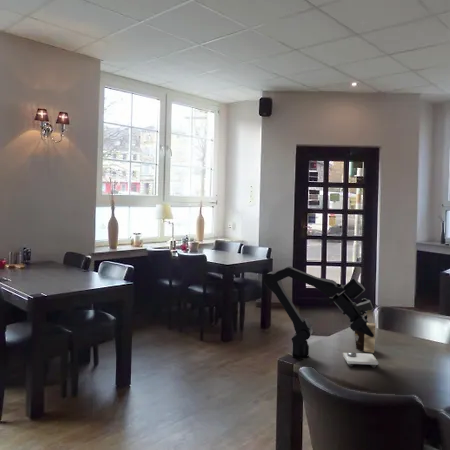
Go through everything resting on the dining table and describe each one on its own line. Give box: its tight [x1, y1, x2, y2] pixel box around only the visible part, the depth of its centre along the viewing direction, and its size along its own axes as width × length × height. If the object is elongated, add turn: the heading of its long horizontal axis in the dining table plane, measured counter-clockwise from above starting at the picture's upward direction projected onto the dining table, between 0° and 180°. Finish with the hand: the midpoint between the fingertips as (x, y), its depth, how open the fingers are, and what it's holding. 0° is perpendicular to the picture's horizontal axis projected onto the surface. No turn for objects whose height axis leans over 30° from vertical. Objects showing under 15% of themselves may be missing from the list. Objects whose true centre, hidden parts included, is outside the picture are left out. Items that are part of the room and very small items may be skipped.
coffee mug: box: [354, 330, 365, 352], centre depth 206 cm, size 12×9×10 cm
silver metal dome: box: [346, 351, 356, 357], centre depth 188 cm, size 4×4×1 cm
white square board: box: [342, 352, 379, 369], centre depth 186 cm, size 12×10×3 cm
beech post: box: [363, 322, 376, 354], centre depth 185 cm, size 4×4×11 cm
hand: (373, 335), depth 184 cm, fingers closed on beech post, 4 cm apart
